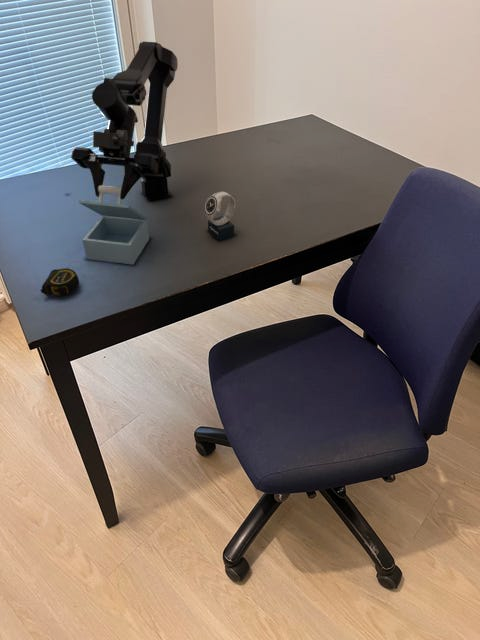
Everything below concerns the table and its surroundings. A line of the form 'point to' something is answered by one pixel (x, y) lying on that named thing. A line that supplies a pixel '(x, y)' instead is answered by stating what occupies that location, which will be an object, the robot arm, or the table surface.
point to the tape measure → (60, 282)
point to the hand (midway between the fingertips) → (109, 197)
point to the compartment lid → (112, 205)
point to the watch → (220, 224)
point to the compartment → (116, 240)
